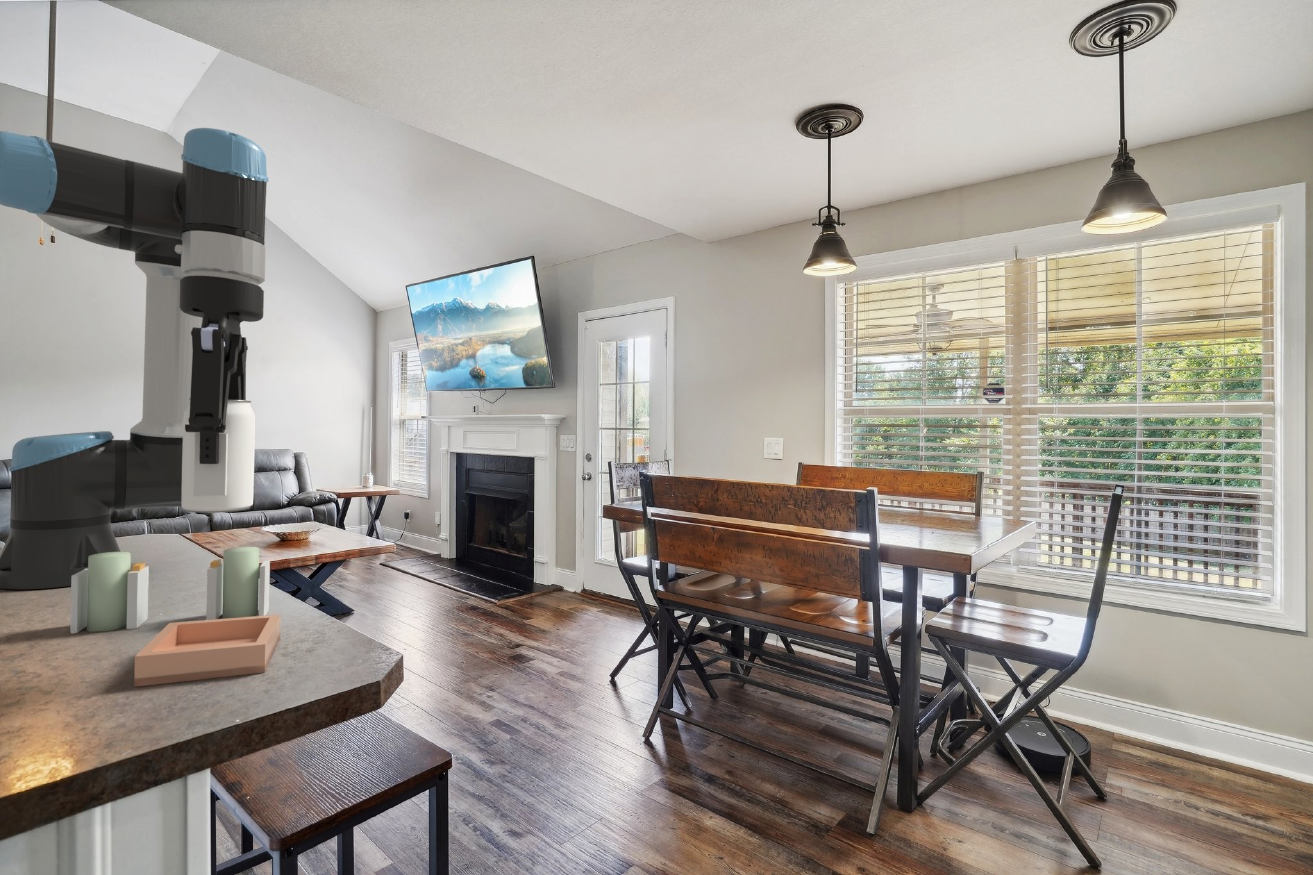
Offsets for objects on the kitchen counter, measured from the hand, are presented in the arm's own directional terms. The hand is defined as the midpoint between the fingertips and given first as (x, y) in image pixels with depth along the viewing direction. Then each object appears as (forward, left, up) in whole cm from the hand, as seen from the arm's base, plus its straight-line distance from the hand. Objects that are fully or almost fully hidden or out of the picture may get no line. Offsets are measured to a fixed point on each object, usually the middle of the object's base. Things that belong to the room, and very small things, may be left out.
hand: (218, 491), depth 68 cm
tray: (0, 0, -19) cm, 19 cm away
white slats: (-17, -8, -19) cm, 26 cm away
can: (0, 0, -2) cm, 2 cm away
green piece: (-17, -1, -19) cm, 25 cm away
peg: (-17, -15, -19) cm, 29 cm away
